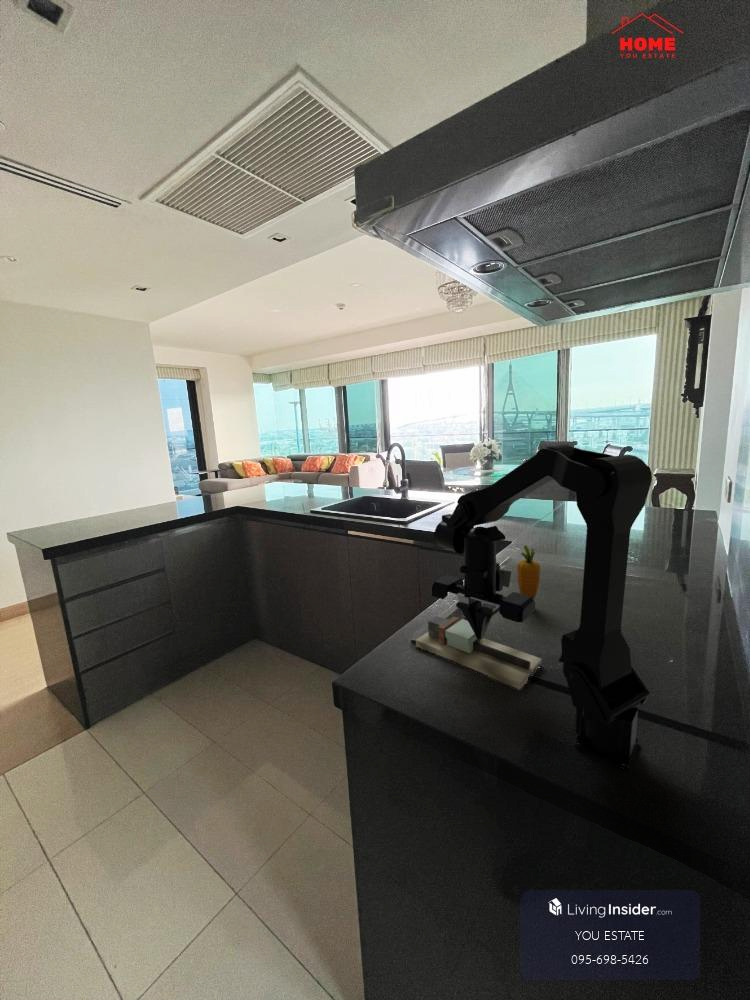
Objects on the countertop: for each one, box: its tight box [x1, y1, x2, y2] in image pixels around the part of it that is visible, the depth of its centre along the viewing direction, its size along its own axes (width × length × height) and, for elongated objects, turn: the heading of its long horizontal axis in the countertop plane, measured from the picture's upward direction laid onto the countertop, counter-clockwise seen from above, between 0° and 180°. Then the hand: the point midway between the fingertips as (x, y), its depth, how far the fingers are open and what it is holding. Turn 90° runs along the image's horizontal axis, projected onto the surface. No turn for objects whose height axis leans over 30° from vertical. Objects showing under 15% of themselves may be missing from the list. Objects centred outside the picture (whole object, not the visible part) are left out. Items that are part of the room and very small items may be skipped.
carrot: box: [516, 544, 541, 600], centre depth 97 cm, size 5×5×15 cm
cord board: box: [415, 615, 543, 690], centre depth 79 cm, size 22×9×5 cm, turn 46°
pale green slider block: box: [445, 618, 484, 653], centre depth 81 cm, size 5×6×3 cm
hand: (480, 638), depth 78 cm, fingers closed
